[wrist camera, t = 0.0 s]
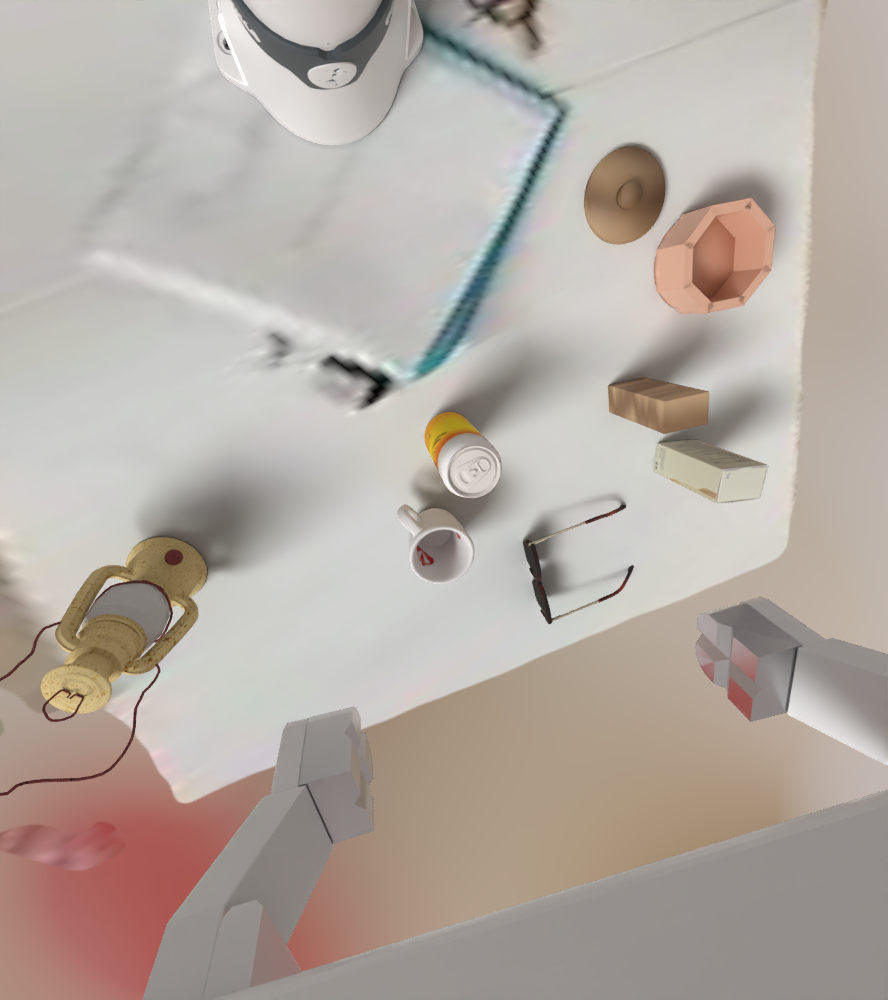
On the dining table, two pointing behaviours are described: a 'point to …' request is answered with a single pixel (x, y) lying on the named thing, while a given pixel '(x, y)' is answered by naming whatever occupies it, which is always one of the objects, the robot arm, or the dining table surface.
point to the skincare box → (710, 470)
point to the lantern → (121, 628)
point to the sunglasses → (536, 571)
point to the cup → (436, 544)
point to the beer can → (462, 455)
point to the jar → (714, 257)
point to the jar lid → (624, 195)
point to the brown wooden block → (659, 404)
